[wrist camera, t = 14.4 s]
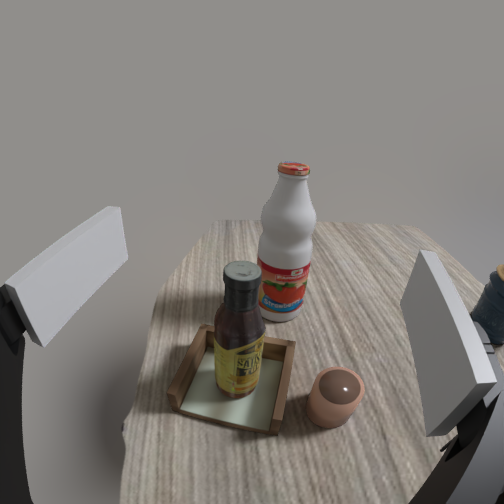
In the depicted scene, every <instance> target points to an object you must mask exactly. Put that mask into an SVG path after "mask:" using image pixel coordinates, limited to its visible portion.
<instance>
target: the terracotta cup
mask: <svg viewBox="0 0 504 504" xmlns="http://www.w3.org/2000/svg"><path fill="white" fill-rule="evenodd" d="M363 395H364V384H363V381H362V380H361V378H360V377H359V376H358V375H357V374H356V373H355V372H353V371H352V370H350V369H347V368H343V367H330V368H327V369H325V370H323V371H321V372H320V373H319V374H318V375H317V377H316V379H315V382H314V384H313V387H312V390H311V392H310V395H309V398H308V400H307V403H306V413H307V415H308V417H309V419H310V420H311V421H312V422H313V423H315V424H316V425H318V426H320V427H323V428H336V427H339V426H341V425H343V424H345V423H346V422H347V421H348V419H349V418H350V416H351V415H352V413H353V412H354V410H355V409H356V407H357V405H358V404H359V402H360V401H361V399H362V397H363Z"/></svg>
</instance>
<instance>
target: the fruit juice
mask: <svg viewBox="0 0 504 504" xmlns="http://www.w3.org/2000/svg"><path fill="white" fill-rule="evenodd" d="M309 173H310V168H309V166H308V165H305V164H302V163H297V162H281V163H279V166H278V174H279V180H278V182H277V184H276V187H275V189H274V191H273V193H272V196H271V197H270V199H269V200H268V202H267V203H266V204H265V205H264V207H263V210H262V214H261V222H262V227H263V233H262V235H261V236H260V240H259V245H258V258H257V265H258V266H259V267H260V269H261V270H262V279H261V284H260V286H259V293H258V300H259V301H258V305H259V308H260V312H261V316H262V317H264V318H266V319H268V320H271V321H276V322H284V321H289V320H292V319H294V318H295V317H296V316H297V315H298V314H299V313H300V311H301V308H302V304H303V299H304V294H305V289H306V284H307V278H308V273H309V267H310V262H311V257H312V240H311V235H312V233H313V231H314V229H315V226H316V212H315V210H314V208H313V206H312V203H311V199H310V195H309V190H308V186H307V178H308V177H309Z"/></svg>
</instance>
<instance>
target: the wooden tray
mask: <svg viewBox="0 0 504 504" xmlns="http://www.w3.org/2000/svg"><path fill="white" fill-rule="evenodd" d="M295 344H296V342H295V341H289V340H283V339H277V338H271V337H266V336H265V337H264V344H263V352H262V359H261V366H260V373H259V380H258V383H257V385H256V387H255V389H254V391H253V392H252V393H251V394H250V395H248V396H245V397H242V398H230V397H228V396H226V395H224V394H222V393H221V392H220V390H219V389H218V387H217V385H216V379H215V364H214V326H210V325H206V324H201V326H200V328H199V330H198V332H197V334H196V336H195V338H194V339H193V341H192V343H191V345H190V347H189V349H188V351H187V353H186V355H185V357H184V359H183V361H182V363H181V365H180V367H179V369H178V371H177V373H176V375H175V377H174V379H173V381H172V383H171V385H170V387H169V389H168V391H167V395H168V398H169V401H170V404H171V407H172V410H173V411H176V412H179V413H182V414H185V415H189V416H192V417H196V418H199V419H203V420H206V421H210V422H214V423H218V424H222V425H226V426H230V427H235V428H239V429H244V430H248V431H253V432H259V433H264V434H270V435H275V436H277V435H278V432H279V429H280V426H281V423H282V419H283V414H284V408H285V403H286V398H287V392H288V386H289V381H290V375H291V369H292V363H293V356H294V350H295Z"/></svg>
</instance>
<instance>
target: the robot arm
mask: <svg viewBox="0 0 504 504" xmlns="http://www.w3.org/2000/svg"><path fill="white" fill-rule="evenodd" d="M127 259H128V253H127V248H126V242H125V236H124V229H123V223H122V217H121V208H120V207H112V206H108V207H106V208H104V209H103V210H101V211H100V212H98V213H97V214H95V215H94V216H92V217H91V218H89V219H88V220H87V221H85V222H83V223H82V224H80V225H79V226H77V227H76V228H75V229H73V230H72V231H70V232H69V233H67V234H66V235H65V236H63V237H62V238H60V239H59V240H58V241H57V242H55V243H54V244H52V245H51V246H50V247H48V248H47V249H46V250H44V251H43V252H42V253H40V254H39V255H38V256H37V257H35V258H34V259H32V260H31V261H30V262H29V263H28V264H26V265H25V266H24V267H23V268H21V269H20V270H19V271H18V272H16V273H15V274H14V275H13V276H12V277H10V278H9V279H8V280H7V281H6V282H5V283H4V285H3V286H2V287H0V504H33V502H32V500H31V496H30V492H29V486H28V481H27V474H26V466H25V458H24V448H23V436H22V435H23V434H22V374H23V359H24V349H25V338H24V336H23V333H24V332H25V330H27V332H28V334H29V336H30V338H31V340H32V341H33V342H34V343H36V344H38V345H40V346H42V347H43V348H44V347H45V346H46V345H47V344H48V343H49V341H50V340H51V339H52V338H53V337H54V336H55V335H56V333H57V332H58V331H59V330H60V329H61V328H62V327H63V326H64V325H65V323H66V322H67V321H68V320H69V319H70V318H71V317H72V316H73V315H74V314H75V312H76V311H77V310H78V309H79V308H80V307H81V306H82V305H83V304H84V303H85V302H86V300H88V299H89V298H90V296H91V295H92V294H93V293H94V292H95V291H96V290H97V289H98V288H99V287H100V286H101V285H102V284H103V283H104V282H105V281H106V280H107V279H108V278H109V277H110V276H111V275H112V274H113V273H114V272H115V271H116V270H117V269H118V268H119V267H120V266H121V265H122V264H123V263H124V262H125V261H126V260H127ZM400 305H401V309H402V312H403V316H404V320H405V324H406V328H407V332H408V336H409V340H410V344H411V349H412V353H413V358H414V362H415V367H416V372H417V377H418V383H419V388H420V394H421V400H422V407H423V414H424V421H425V429H426V437H430V436H442V435H447V434H448V433H449V432H450V431H451V430H452V429H453V428H454V427H455V426H457V431H458V435H456V436H455V437H454V438H453V439H452V440H451V441H449V442H448V443H447V444H446V445H445V446H443V447H442V449H441V450H440V451H441V452H443V451H444V450H445V449H446V448H447V450H446V451H445V453H444V455H443V456H442V458H441V459H440V461H439V462H438V464H437V465H436V467H435V468H434V470H433V471H432V473H431V474H430V476H429V477H428V479H427V480H426V481H425V483H424V484H423V486H422V487H421V488H420V490H419V491H418V492H417V494H416V495H415V496H414V497H413V499H412V500H411V501H410V502H409V504H504V374H503V371H502V369H501V366H500V364H499V361H498V359H497V356H496V354H494V353H495V352H494V349H493V347H492V345H490V344H491V342H490V340H489V338H488V336H487V334H486V332H485V331H484V329H483V328H482V327H481V326H480V325H479V323H478V322H474V321H472V319H471V317H470V315H469V313H468V311H467V309H466V307H465V305H464V303H463V301H462V299H461V297H460V295H459V293H458V291H457V289H456V288H455V286H454V284H453V282H452V280H451V278H450V277H449V275H448V273H447V271H446V270H445V268H444V266H443V264H442V263H441V261H440V259H439V258H438V256H437V254H436V253H435V252H431V251H425V250H419V253H418V256H417V259H416V262H415V265H414V268H413V271H412V273H411V276H410V279H409V281H408V284H407V287H406V289H405V292H404V294H403V297H402V299H401V302H400Z"/></svg>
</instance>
